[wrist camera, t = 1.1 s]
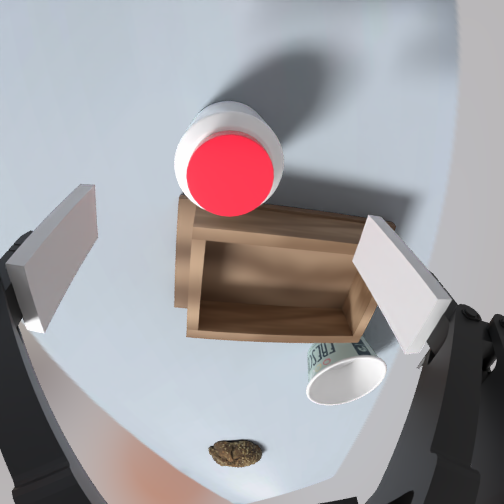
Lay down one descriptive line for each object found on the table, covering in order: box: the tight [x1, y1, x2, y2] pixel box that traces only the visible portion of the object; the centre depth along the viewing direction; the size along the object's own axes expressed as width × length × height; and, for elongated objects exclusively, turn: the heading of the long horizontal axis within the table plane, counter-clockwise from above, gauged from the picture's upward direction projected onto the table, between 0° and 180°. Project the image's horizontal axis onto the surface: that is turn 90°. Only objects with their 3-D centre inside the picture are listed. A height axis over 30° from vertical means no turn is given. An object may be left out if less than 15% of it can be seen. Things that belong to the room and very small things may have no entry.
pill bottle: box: [174, 101, 284, 217], centre depth 24 cm, size 8×8×11 cm
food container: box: [306, 336, 387, 405], centre depth 43 cm, size 12×12×6 cm
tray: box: [174, 195, 396, 343], centre depth 34 cm, size 14×24×6 cm, turn 81°
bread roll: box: [209, 440, 262, 467], centre depth 62 cm, size 13×12×5 cm
